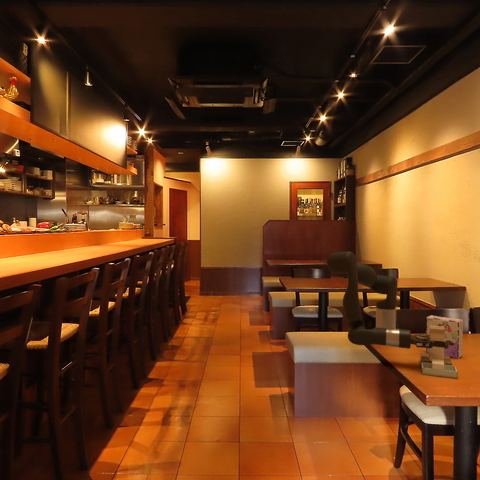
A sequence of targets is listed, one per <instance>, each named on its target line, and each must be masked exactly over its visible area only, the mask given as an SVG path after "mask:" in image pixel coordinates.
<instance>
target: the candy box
mask: <svg viewBox="0 0 480 480" xmlns="http://www.w3.org/2000/svg"><path fill="white" fill-rule="evenodd" d="M463 322H464V321H463V319H457V318H451V317H444V316H437V315H429V316H426V327H425V328H426V330H425V333H426V334H425V335H429V332H430V325H431V326H442V327H444V329H445V333H444V342H445V347H444V356H450V359H451V358H453V359H455V360H459V359H461V358H462V357H463V337H464V336H463V331H464V329H463V326H464V325H463V324H464V323H463ZM428 344H429V343H428ZM425 353H426V354H429V348H425Z"/></svg>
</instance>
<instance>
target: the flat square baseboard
mask: <svg viewBox="0 0 480 480" xmlns="http://www.w3.org/2000/svg"><path fill="white" fill-rule="evenodd" d="M422 362H426V363H432V361H430V359H429V353H421V352H420V368H421V369H422ZM444 365H452V366H453V362H452V360H451V357H450V356H444Z"/></svg>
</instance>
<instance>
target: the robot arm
mask: <svg viewBox="0 0 480 480" xmlns="http://www.w3.org/2000/svg"><path fill="white" fill-rule="evenodd" d="M326 265H327V267H328V268H327V269H328V270H329V271H330V272H331V273H332V274H335V275H338V276H341V277H345V278H347V287H346V289H345V292H344V295H343V297H342V308H343V313H344V318H345V321H347V325H348V332H347V339H348V341H349V342H350V343H351V344H353V345H357V346H368V345H371V346H372V345H379V346H387V347H391V348H397V349H398V348H399V349H407V350H409V349H411V346H412V345H415V347H416V348H421V349H426V348H433V347H443V348H444V347H445V342H443V341H434V340H429V335H426V334H424V333H418V332H416V333H415V334H411V333H412V331H411V330H410V329H402V328H396V327H397V326H396V325H397V323H396V320H397V319H396V318H397V311H396V310H397V302H398V301H397V299H398V280H397V278H396V277H395V276H392V275H391V276H390V275H383V274H382V275H381V274H380V275H379V274H377V272H376V270H375V269H374V268H373V267H371V266H369V265H367V264H366V263H361V262H358V261H357V258H356V256H355V253H353V252H352V251H340V252H339V251H337V252H333V253H330V254H329V255H328V257H327V259H326ZM359 285H362V286H365V287H366V288H369V289H371V291H373V292H375V293H376V294H379V295H386V297H385V298H384V299H383V300H379V301H376V303H375V327H373V328H371V329H366V326H365V321H364V319H363V315H362V310H361V304H360V297H359V296H360V295H359ZM428 343H429V344H428Z"/></svg>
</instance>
